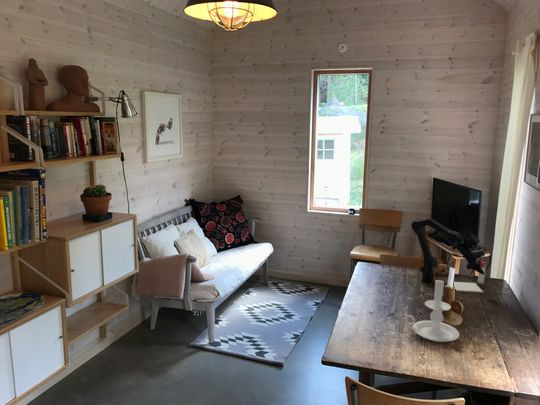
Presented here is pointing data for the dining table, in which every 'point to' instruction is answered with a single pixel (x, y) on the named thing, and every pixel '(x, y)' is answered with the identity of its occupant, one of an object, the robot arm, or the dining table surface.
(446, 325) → the candlestick
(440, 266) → the lion figurine
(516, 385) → the dining table surface
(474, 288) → the notepad
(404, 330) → the dining table surface
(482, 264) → the marker
